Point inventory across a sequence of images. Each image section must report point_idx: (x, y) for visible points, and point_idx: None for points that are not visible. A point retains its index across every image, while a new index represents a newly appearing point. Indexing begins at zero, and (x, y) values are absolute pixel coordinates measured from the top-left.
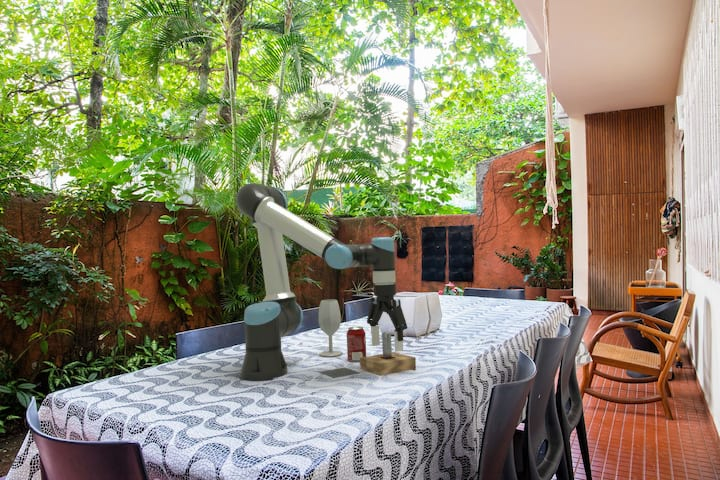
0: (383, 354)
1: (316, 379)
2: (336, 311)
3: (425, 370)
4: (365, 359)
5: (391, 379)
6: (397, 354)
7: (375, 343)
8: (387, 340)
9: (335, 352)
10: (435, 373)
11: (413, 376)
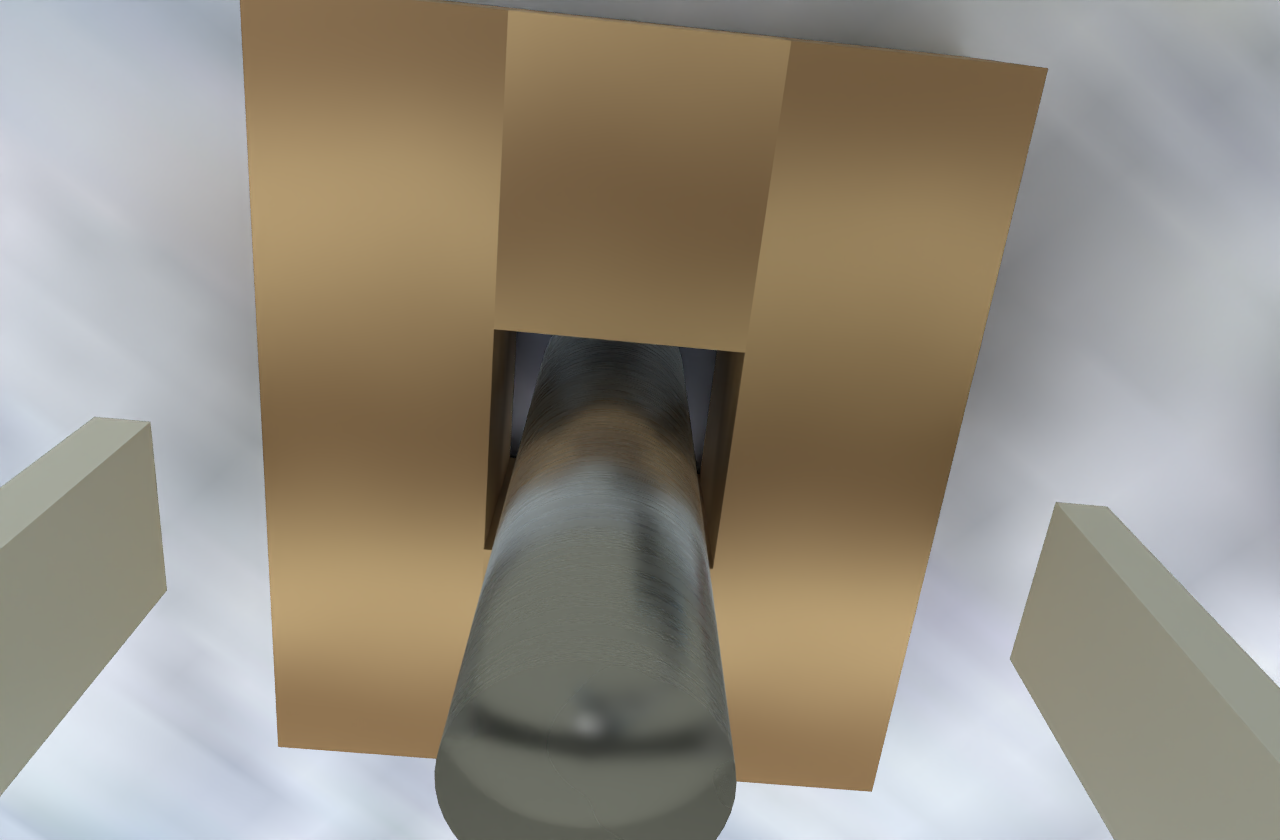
0: (616, 400)
1: None
2: None
3: (226, 683)
4: (824, 45)
5: (64, 9)
6: None
7: (1055, 584)
8: (478, 603)
9: None
10: None
11: (34, 374)
